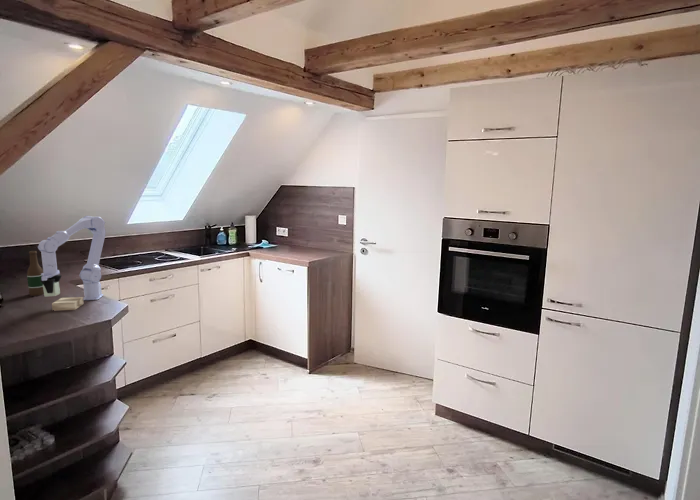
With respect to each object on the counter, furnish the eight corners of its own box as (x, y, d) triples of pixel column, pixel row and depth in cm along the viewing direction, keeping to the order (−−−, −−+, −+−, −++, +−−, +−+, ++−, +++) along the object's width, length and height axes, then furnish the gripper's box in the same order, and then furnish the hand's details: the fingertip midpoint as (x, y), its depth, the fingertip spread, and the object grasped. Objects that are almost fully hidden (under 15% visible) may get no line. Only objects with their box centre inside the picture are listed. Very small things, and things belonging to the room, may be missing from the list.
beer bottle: (33, 292, 242) (28, 250, 238) (48, 292, 244) (44, 249, 240) (25, 296, 235) (20, 252, 231) (42, 295, 236) (37, 252, 232)
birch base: (62, 305, 221) (61, 297, 220) (83, 304, 223) (83, 297, 222) (52, 311, 211) (51, 303, 211) (75, 310, 213) (74, 302, 212)
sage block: (49, 293, 216) (47, 282, 215) (60, 293, 217) (58, 281, 216) (44, 296, 212) (42, 284, 210) (55, 296, 213) (54, 284, 212)
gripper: (47, 261, 218) (50, 288, 220) (33, 267, 204) (36, 295, 206) (63, 261, 219) (65, 287, 222) (49, 267, 206) (52, 295, 208)
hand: (52, 291), depth 214 cm, fingers closed on sage block, 5 cm apart
